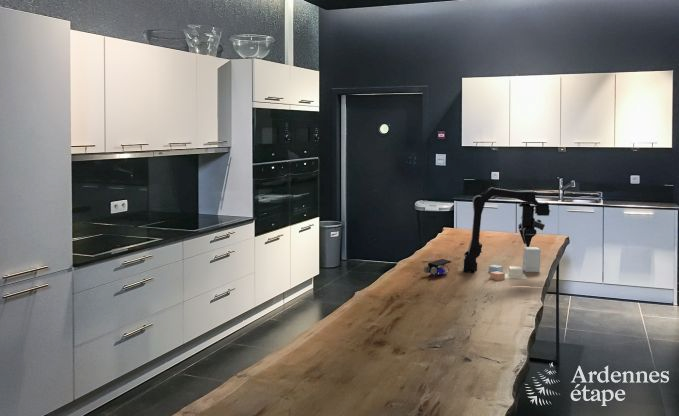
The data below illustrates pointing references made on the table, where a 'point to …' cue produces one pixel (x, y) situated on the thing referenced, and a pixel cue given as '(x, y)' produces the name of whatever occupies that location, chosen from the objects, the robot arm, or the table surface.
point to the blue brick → (495, 268)
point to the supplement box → (531, 259)
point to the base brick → (515, 271)
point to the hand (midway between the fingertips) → (526, 245)
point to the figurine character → (434, 268)
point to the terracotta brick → (497, 275)
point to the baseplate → (516, 277)
